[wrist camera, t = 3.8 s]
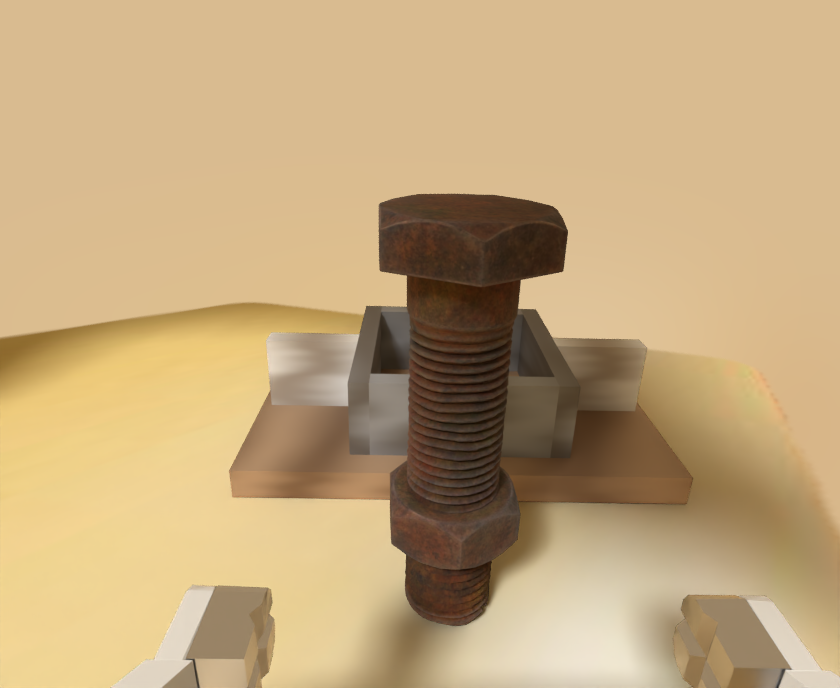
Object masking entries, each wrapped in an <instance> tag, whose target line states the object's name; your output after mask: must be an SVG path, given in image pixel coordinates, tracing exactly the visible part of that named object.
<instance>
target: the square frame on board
mask: <svg viewBox="0 0 840 688" xmlns="http://www.w3.org/2000/svg"><path fill="white" fill-rule="evenodd" d="M410 328H411V326H410V315H409V314H408V311H407V307H386V306H366V310H365V314H364V318H363V322H362V326H361V330H360V334H322V333H271V334H270V335H269V337H268V338H267V340H266V345H267V357H268V368H269V379H270V392H269V394H268V396H267V398H266V400H265V402H264V404H263V406H262V408H261V410H260V412H259V414H258V415H257V417H256V419H255V421H254V423H253V425H252V427H251V429H250V431H249V433H248V435H247V437H246V439H245V441H244V443H243V445H242V447H241V449H240V451H239V453H238V455H237V457H236V459H235V460H234V462H233V464H232V466H231V468H230V470H229V473H230V481H231V488H232V496H233V497H279V498H344V499H390V473H391V472H392V471H393V470H395V469H396V468H397V467H399V466H400V465H401V464H402V463H404V462H405V461H407V456H408V455H407V449H408V443H407V442H408V439H409V437H408V429H409V420H408V419H409V411H408V405H409V401H408V397H409V392H408V388H409V381H408V379H409V377H410V374H409V368H410V366H409V359H410V355H409V349H410V346H409V345H410V334H409V330H410ZM512 328H513V334H512V338H511V340H512V345H511V348H510V350H511V355H510V366H509V376H508V382H509V384H508V386H507V389H508V394H507V397H506V398H507V405H506V413H505V419H504V431H503V440H502V442H503V444H502V449H501V450H502V453H501V461H500V467H501V468H503V469H504V470H505V471H506V472H507V473H508V474H509V476H510V478H511V480H512V482H513V485H514V488H515V492H516V495H517V500H518V501H537V502H602V503H666V504H687V500H688V496H689V492H690V488H691V484H692V480H693V478H692V476H691V475H690V474H689V472H688V471H687V470H686V468H685V467H684V466H683V464H682V463H681V461H680V460H679V459H678V457H677V456H676V455H675V453H674V452H673V451H672V449H671V448H670V447H669V445H668V444H667V443H666V441H665V440H664V439H663V437H662V436H661V434H660V433H659V432H658V430H657V429H656V428H655V426H654V425H653V424H652V422H651V421H650V420H649V418H648V417H647V416H646V414H645V413H644V411H643V410H642V409H641V407H640V406H639V405H638V403H637V398H638V393H639V388H640V383H641V378H642V372H643V367H644V362H645V357H646V352H647V347H646V346H645V345H644V344H643V343H642V342H641V341H640V340H628V339H577V338H552V337H551V335H550V333H549V331H548V330H547V328H546V326H545V325H544V323H543V321H542V319H541V318H540V316H539V314H538V312H537V311H536V310H534V309H518V314H517V317H516V319H515V320H514V325H513V327H512Z"/></svg>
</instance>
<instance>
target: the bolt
mask: <svg viewBox="0 0 840 688" xmlns="http://www.w3.org/2000/svg"><path fill="white" fill-rule="evenodd" d="M567 235H568V230H567V228H566V225H565V223H564V220H563V218H562V216H561V215H560V213H559V212H558V210H557V209H555V208H554V207H553V206H550V205H546V204H542V203H537V202H533V201H529V200H523V199H517V198H510V197H504V196H497V195H474V194H473V195H472V194H417V195H411V196H405V197H400V198H395V199H391V200H388V201H385V202H382V203H380V204H379V264H380V271H382V272H389V273H394V274H400V275H407V311H408V314H409V315H410V326H411V328H410V330H409V334H410V345H409V346H410V349H409V355H410V359H409V366H410V368H409V374H410V377H409V379H408V381H409V388H408V392H409V397H408V401H409V405H408V411H409V419H408V420H409V429H408V437H409V439H408V442H407V443H408V449H407V455H408V456H407V461H405V462H404V463H402V464H401V465H400V466H399V467H397V468H396V469H395V470H393V471H392V472H391V473H390V523H391V542H392V544H393V545H394V546H395V547H397V548H398V549H399V550H401V551H402V552H404V553H405V554H406V571H405V573H406V578H405V592H406V597H407V599H408V601H409V604H410V605H411V607H412V608H413V609H414V610H415V611H416V612H417V613H418V614H419V615H421V616H422V617H423V618H426V619H428V620H430V621H434V622H436V623H441V624H446V625H452V626H460V625H465V624H467V623H469V622H471V621H472V620H474V619H475V618H476V617H477V616H478V615H479V614H480V613H481V612H482V611H483V610H482V608H481V606H486V604H487V601H488V596H489V579H490V571H491V563H492V560H493V559H494V558H496V557H497V556H499V555H500V554H502V553H503V552H504V551H505V550H506V549H508V548H509V547H510V546H511V545H512V544H513V543H514V542H515V541H516V540H517V539H518V530H519V521H520V510H519V505H518V500H517V495H516V492H515V488H514V485H513V482H512V480H511V478H510V476H509V474H508V473H507V472H506V471H505V470H504V469H503V468H501V467H500V461H501V453H502V450H501V449H502V444H503V442H502V440H503V431H504V419H505V413H506V405H507V398H506V397H507V394H508V389H507V386H508V384H509V382H508V376H509V366H510V355H511V350H510V348H511V345H512V340H511V338H512V334H513V328H512V327H513V325H514V320H515V319H516V317H517V314H518V303H519V292H520V281H521V280H522V279H528V278H533V277H538V276H543V275H548V274H553V273H559V272H562V271H563V269H564V260H565V252H566V244H567Z"/></svg>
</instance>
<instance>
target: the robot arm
mask: <svg viewBox="0 0 840 688" xmlns="http://www.w3.org/2000/svg"><path fill="white" fill-rule="evenodd" d="M271 606H272V594H271V589H269V588H260V587H238V586H205V585H192V586H191V587H190V588H189V589H188V590H187V591H186V593H185V595H184V597H183V599H182V601H181V603H180V605H179V608H178V610H177V612H176V614H175V616H174V618H173V620H172V622H171V624H170V626H169V628H168V630H167V633H166V635H165V637H164V639H163V641H162V643H161V645H160V647H159V649H158V651H157V653H156V656H155V658H154V659H146V660H144V661H143V662H142V663H141V664H139V665H138V666H137V667H135V668H134V669H133V670H132V671H130V672H129V673H128V674H127V675H125V676H124V677H123V678H122V679H120V680H119V681H118V682H117V683H115V684H114V685H113V686H112V687H110V688H262V682H261V679H262V678H263V677H264V676H265V675H266V674H267V673H268V672H269V669H270V665H271V661H272V657H273V650H274V643H275V622H274V618H273V617H272V616H271V615H270V614H269V613H270V609H271ZM681 611H682V613H683V615H684V617H685V619H684V620H683V621H682V622H680V623H679V624H678V625H677V626H676V628H675V633H674V637H673V645H674V655H675V659H676V663H677V666H678V668H679V671H680V673H681V675H682V677H683V679H684V680H685V681H686V682H687V683H689V684H690V685H691V686H692V687H693V688H840V677H839V676H837V675H836V674H834V673H833V672H831V671H823V670H822V669H821V668H820V666H819V665H818V664H817V662H816V661H815V659H814V658H813V657H812V655H811V654H810V652H809V651H808V650H807V648H806V647H805V646H804V644H803V643H802V641H801V640H800V639H799V637H798V636H797V634H796V633H795V632H794V630H793V629H792V628H791V626H790V625H789V623H788V622H787V621H786V619H785V618H784V616H783V615H782V614H781V612H780V611H779V610H778V608H777V607H776V605H775V604H774V603H773V601H772V600H771V599H769V598H768V597H766V596H736V595H688V596H687V597H686V598H685V599H684V600H683V603H682V607H681Z"/></svg>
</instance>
